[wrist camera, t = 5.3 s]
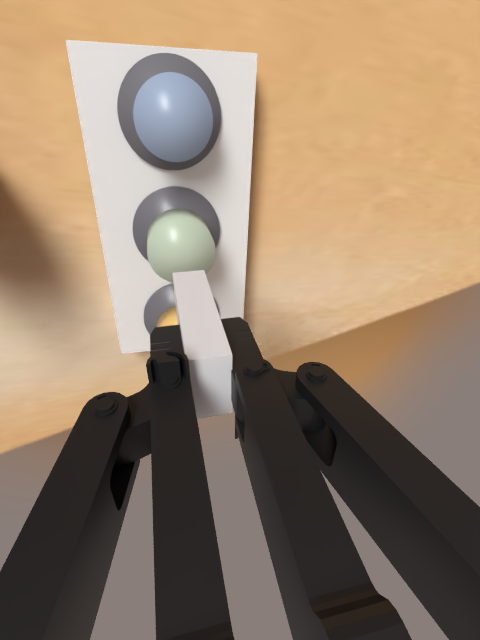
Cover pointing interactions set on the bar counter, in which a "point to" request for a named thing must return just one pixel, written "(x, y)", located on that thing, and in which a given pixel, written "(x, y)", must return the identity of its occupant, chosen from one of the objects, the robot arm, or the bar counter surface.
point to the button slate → (173, 117)
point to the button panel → (164, 173)
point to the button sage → (179, 243)
